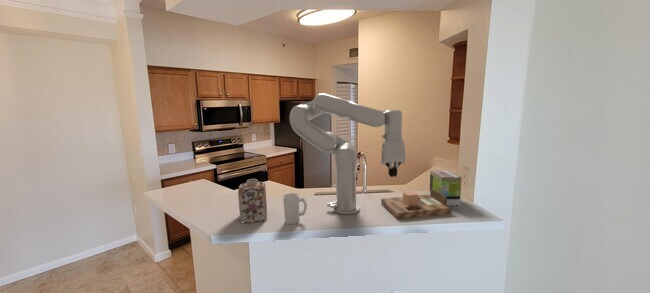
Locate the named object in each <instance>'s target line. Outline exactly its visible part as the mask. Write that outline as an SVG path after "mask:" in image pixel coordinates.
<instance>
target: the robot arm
mask: <svg viewBox="0 0 650 293" xmlns="http://www.w3.org/2000/svg"><path fill="white" fill-rule="evenodd" d="M323 114H328V115H331V116H334V117H338V118H340V119H344V120H347V121H352V122H356V123H358V124H362V125H365V126H370V127H373V128H381V127H383V126H384V134H382V135H381V139H383V141H382V147H381V160H380V161H381V162H380V164H381V165H383V166H386V167H387V168H388V176H389V177H391V178H393V177H394V178H396V177H397V175H398V168H399V167H400V166H401V165H403V164H405V163H406V146H405V141H404V140H403V139H402V138H403V137H402V136H403V135H402V131H403V129H402V127H403V125H402V124H403V120H402V119H403V112H402V111H401V110H400V109H398V110H397V109H391V110H390V109H387V110H380V109H379V110H378V109H375V108H372V107H369V106H364V105H362V104H358V103H355V102H353V101H351V100H348V99H345V98H340V97H338V96H334V95H330V94H327V93H318V94H317V95H316V96H315V97H314V99H312V100H310V101H308V102H306V103H304V104H298V105H295V106H293V107H292V109H291V110H290V112H289V123H290V127H291V129H292V130H293V132H295V134H297V136H299V137H301V139H304V140H305V141H306V142H308V143H309V144H310V145H312V146H314V147H315V148H316V149H318V150H319V151H321V152H322V153H325V154H328V153H330V154H332V155H334V165H335V187H336V188H335V189H336V190H335V191H336V192H335V194H336V195H335V196H336V199H335V200H334V201H333V202H326V207H330V209H333V212H335V213H337V214H340V215H354V214H357V213H358V212H359V211H360V206H359V205H358V204H357V183H356V182H357V179H356V177H357V176H356V175H357V174H356V173H357V171H356V170H357V168H356V164H357V162H356V157H357V151H356V148H355V147H354V145H353V144H351V143H350V142H349V141H347V140H346V139H344V138H342V137H341V136H339V135H337V134H336V133H335V132H331V131H325V130H323V129H322V128H320V127H318V126H317V125H315V124H314V123H312V122H311V120H313V119H315V118H318V117H319V116H321V115H323Z"/></svg>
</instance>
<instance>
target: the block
mask: <svg viewBox="0 0 650 293" xmlns="http://www.w3.org/2000/svg"><path fill="white" fill-rule="evenodd" d="M418 195H419V194H418V193H416V192H415V191H413V190H412V191H403V192H402V197H403V202H404V203H405V204H406V205H408V206H409V205H418Z"/></svg>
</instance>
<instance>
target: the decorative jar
mask: <svg viewBox="0 0 650 293" xmlns="http://www.w3.org/2000/svg"><path fill="white" fill-rule="evenodd" d="M266 190H267V189H266V183H265V182H264V181H259V180H258V179H256V178H250V179H247V180H246V182H244V183H241V184H240V185H239V186H238V192H237V196H238V207H239V208H238V209H239V219H240V224H241V223H242V222H250V223H253V222H252V221H259V222H264V221H263V220H266V221H267V220H268V205H267V191H266ZM242 224H243V223H242Z"/></svg>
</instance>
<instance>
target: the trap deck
mask: <svg viewBox="0 0 650 293" xmlns="http://www.w3.org/2000/svg"><path fill="white" fill-rule="evenodd" d="M380 205H381V206H382V207H384V209H386V210H387V211H388V212H389V213H390V214H391V215H392V216H393V217H394V218H395V220H405V219H414V218H415V219H416V218H417V219H418V218H426V217H437V216H445V215H447V216H448V215H452V206H447V197H446V196H444V195H442V194H441V193H439V192H437V191H435V190H433V189H431V194H430V193H429V194H420V195H419V194H418V205H409V206H408V205H406V204H405V203H404V202H403V196H397V197H386V198H383V197H382V198H381V200H380Z"/></svg>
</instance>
